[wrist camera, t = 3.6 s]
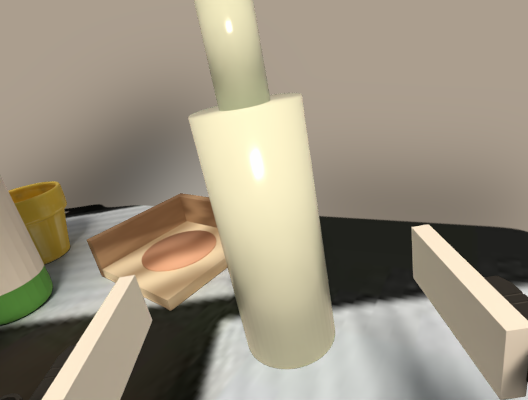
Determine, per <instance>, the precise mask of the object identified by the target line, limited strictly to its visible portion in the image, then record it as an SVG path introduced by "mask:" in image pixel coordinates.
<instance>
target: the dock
mask: <svg viewBox="0 0 528 400" xmlns="http://www.w3.org/2000/svg"><path fill="white" fill-rule="evenodd" d="M87 242H88V244H89V247H90V249H91V251H92V254H93V256H94V258H95V261H96V263H97V266H98V268H99V270H100V273H101V275H102V276H103V277H105V278H107V279H109V280H111V281H113V282H115V283H116V282H117V281H118V279H119V277H125V276H131V275H135V276H136V279H137V282H138V284H139V287H140V289H141V292H142V295H143V297H145V298H147V299H149V300H151V301H153V302H155V303H157V304H159V305H161V306H163V307H165V308H167V309H169V310H172V309H174V308H175V307H176V306H178V305H179V304H180V303H182V302H183V301H184V300H186V299H187V298H188V297H189V296H191V295H192V294H193V293H195V292H196V291H197V290H199V289H200V288H201V287H202V286H204V285H205V284H206V283H208V282H209V281H210V280H212V279H213V278H214V277H216V276H217V275H218V274H219V273H221V272H222V271H223V270H225V269H226V268H227V263H226V259H225V255H224V251H223V248H222V244H221V240H220V236H219V232H218V229H217V225H216V221H215V217H214V213H213V210H212V206H211V202H210V198H209V197H202V196H195V195H188V194H178V195H176V196H175V197H173V198H171V199H168V200H166V201H164V202H162V203H160V204H158V205H156V206H154V207H152V208H150V209H148V210H146V211H144V212H142V213H140V214H138V215H136V216H134V217H132V218H130V219H128V220H126V221H124V222H122V223H120V224H118V225H116V226H114V227H112V228H110V229H108V230H106V231H104V232H102V233H100V234H98V235H95V236H93V237H91V238H89V239H87Z"/></svg>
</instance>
